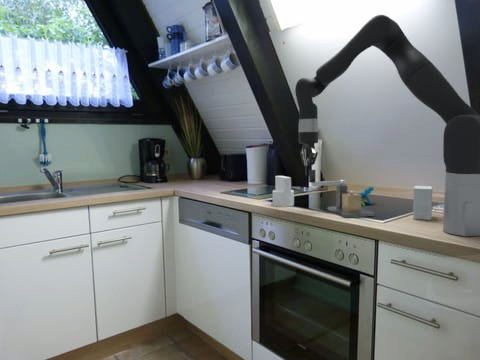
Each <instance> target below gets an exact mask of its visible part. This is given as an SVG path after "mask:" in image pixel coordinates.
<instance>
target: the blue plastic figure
mask: <svg viewBox="0 0 480 360" xmlns="http://www.w3.org/2000/svg"><path fill="white" fill-rule="evenodd" d="M374 189H375V187H374V186H370V187H368V188H365V189H364V191H362V192H360V193H359V194H360V195H361V206H363V207H364V206H366V204H365V203H364V202H363V201H365V200H366V201H367V202H368V203H369V205H373V201H372V200H371V199H370V198H369V196H368V195H371V193H372V192H373V191H374Z"/></svg>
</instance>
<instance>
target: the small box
mask: <svg viewBox="0 0 480 360" xmlns="http://www.w3.org/2000/svg"><path fill="white" fill-rule="evenodd" d="M412 203H413V207H412V208H413V209H412V212H413V213H412V219H413V220H427V221H432V215H433V214H432V212H433V187H432V186H431V185H430V186H428V185H414V186H413V202H412Z"/></svg>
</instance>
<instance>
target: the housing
mask: <svg viewBox="0 0 480 360" xmlns="http://www.w3.org/2000/svg"><path fill="white" fill-rule="evenodd" d="M361 208H362V203H361V195H360V193H356V192H354V190H349V192H347V193H343V194H342V210H345V211H347V212H358V211H361Z"/></svg>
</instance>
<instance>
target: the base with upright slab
mask: <svg viewBox="0 0 480 360" xmlns="http://www.w3.org/2000/svg"><path fill="white" fill-rule="evenodd" d="M274 177H275V181H274V183H275V185H274V186H275V189H273V190H272V206H273V205H274V207H279V206H288V207H293V206H295V190H294V189H292V177H290V176H285V175H275V176H274Z"/></svg>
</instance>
